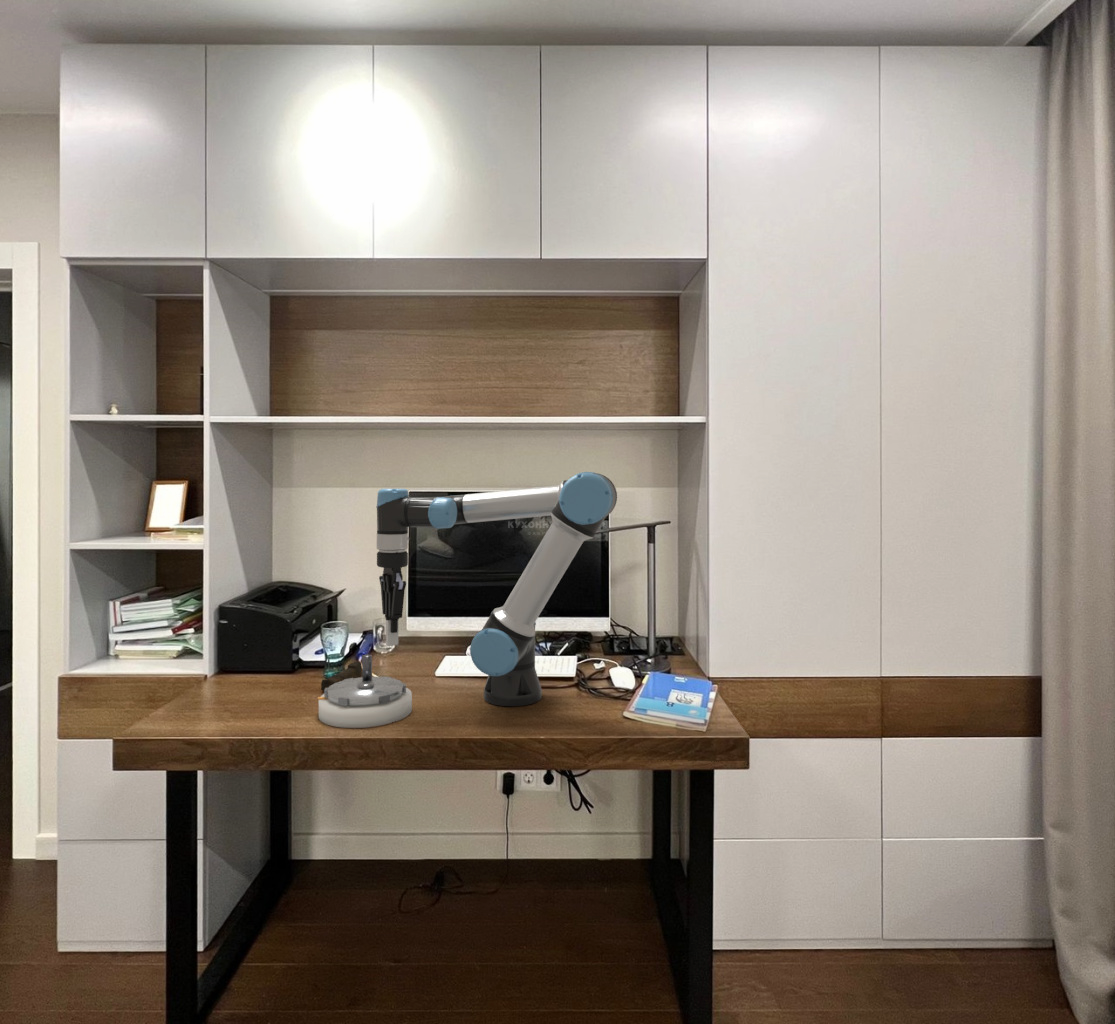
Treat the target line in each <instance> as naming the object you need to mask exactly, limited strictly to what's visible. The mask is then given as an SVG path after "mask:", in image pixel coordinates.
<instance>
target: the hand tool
mask: <svg viewBox="0 0 1115 1024" xmlns="http://www.w3.org/2000/svg"><path fill="white" fill-rule="evenodd" d="M360 677H362V662H361V661H360V660H355V661H353V662H351V663H349V664H348V665H347V668H345V669H343V670H342V671H340V672H338V673H336V674H334V675H332V676H330V677H328V678H325V679H322V680H321V683H320V687H321V689H320V690H321V691H322V693H324V690H325V688H328V687H329V686H331V685H333V684H335V683H337V682H340V681H343V680H344V679H349V678H360Z"/></svg>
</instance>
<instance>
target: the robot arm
mask: <svg viewBox="0 0 1115 1024" xmlns="http://www.w3.org/2000/svg"><path fill="white" fill-rule="evenodd" d="M617 502H618V491H617V489H616V485H615V484H614V482H612V480H611V479H610V478H608V477H607V476H605V475H604V474H600V473H597V472H594V471H583V472H579V473H577V474H574V475H573V476H571V477H569V479H565V480H562V481H560V483H559V484H557V485H545V486H536V487H526V488H515V489H508V490H507V489H506V490H496V491H486V492H477V493H476V492H475V493H467V494H457V495H447V496H431V497H430V496H427V497H426V496H424V497H423V496H420V497H419V496H418V497H416V496H414V497H413V496H410V495H409V491H408V489H406V488H381V489H379V490H378V492H377V501H376V532H377V533H376V550H378V551H377V552H376V566H377V567H378V568H383V571H382V575H379V577H378V579H379V583H380V595H381V596H380V597H381V606H382V615H384V618H385V645H386V646H387V647H391V646H398V645H399V620H400V619H401V618H403V613H404V612H403V611H404V600H405V591H406V588H407V587H406V586H407V582H406V580H403V574H402V573H403V572H402V568H405V567H407V566H408V564H409V552H408V551H406V550H408V549H409V548H408V547H409V546H408V545H409V543H408V542H409V541H410V537H409V534H408V533H409V528H422V529H423V528H425V529H428V528H429V529H437V530H439V529H440V530H441V529H451V528H452V527H453V526H454V525H462V524H470V523H482V522H492V521H504V520H505V521H506V520H513V519H514V520H515V519H527V518H537V517H538V518H539V517H547V516H548V517H549V516H551V520H552V521H551V522H552V523H551V524H550V526H549V528H548V530H547V531H546V533H545V534H544V536H543V538H542V539H541V541H540V543H539V544H538V546H537V548H536V549H535V551H534V553H533V554H532V557H531V558H530V560H529V561H528V563H527V565H526V567H525V568H524V569H523V572H522V574H521V576H520V577H519V578H518V580H517V582H516V584H515V586H514V587H513V589H512V591H511V592H510V594H509V596H508V597H507V599H506V601H505V603H504V604H503V605H502V606H500V607H496V608H494V609H493V610H492V611H491V613H490V615H489V616H488V618H487V620H486V622H485V624H484V625H483V627H482V629H481V630H479V631H478V632H477V633H476V634H475V635H474V637H473V639H472V640H471V643H470V646H469V647H470V648H469V652H470V653H469V654H470V658H471V661H472V663H473V665H474V666H475V667H476V669H478V670H479V671H480V672H481V673H483V674H484V675H487V679H486V683H485V685H484V689H483V700H484V701H485V702H487V703H489V704H492V705H494V706H502V707H521V706H522V707H523V706H529V705H532V704H535V703H537V702H539V701H541V700H542V695H543V694H542V686H541V684H540V679H539V676H538V673H537V670H536V625H537V624H536V623H537V619H538V618H539V616H540V615H541V613H542V612H543V610H544V608H545V606H546V605H547V603H548V602H549V600H550V598H551V596H552V595H553V593H554V591H555V590H556V588H557V586H558V584H559V583H560V581H561V579H562V578H563V576H564V575H565V573H566V571H567V570H568V568H569V567H570V565H571V563H572V561H573V560H574V558H575V557H576V555H577V553H578V551H579V549H580V548H581V546H582V544H583V543H584V542H585V541H587V540H588V541H589V540H591V539H593V538H595V536H596V534H597V532H598V531H599V529H600V527H601V526H602V524H603V523H604V520H605V519H606V517H608V516H609V515H610V514H612V512H613V510H614V509H615V507H616V504H617Z"/></svg>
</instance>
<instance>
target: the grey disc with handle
mask: <svg viewBox="0 0 1115 1024" xmlns="http://www.w3.org/2000/svg"><path fill="white" fill-rule="evenodd" d="M361 661H362V662H361V665H362V674H361V676H360V677H359V678H349V679H344V680H343V681H340V682H337V683H335V684H333V685H331V686H329V687H328V688H325V690H324V692H323V694H324V698H327V699H328V701H329V702H331V703H333V704H336V705H340V706H349V707H362V706H373V705H380V704H384V703H388V702H391V701H394V700H396V699H398V698H400V697H401V696H402V695H403V693H406V688H407V683H406V682H405V683H404V682H403V681H401V680H399V679H397V678H393V677H391V676H385V675H383V676H373V665H372V664H373V655H372V654H362V655H361Z"/></svg>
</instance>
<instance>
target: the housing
mask: <svg viewBox="0 0 1115 1024" xmlns="http://www.w3.org/2000/svg"><path fill="white" fill-rule="evenodd" d="M412 695H413V693H412V691H411V689H409V688H408V687H406V693H403V695H402V696H401V697H400V698H398V699H396V700H394V701H391V702H388V703H384V704H380V705H373V706H362V707H349V706H340V705H336V704H333V703H331V702H329V701H328V699H327V698H324V693H323V694H322V695H320V696H318V697H317V700H318V719H319V721H320V722H322V723H323V724H325V725H329V726H332V727H336V728H344V729H346V728H347V729H361V728H362V729H363V728H372V727H379V726H384V725H388V724H393V723H396V722H398V721H401V720H403V719H405V718H407V717H408V716H409V715H410V714H411V713H412V710H413V697H412ZM395 721H396V722H395ZM392 722H393V723H392Z"/></svg>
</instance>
